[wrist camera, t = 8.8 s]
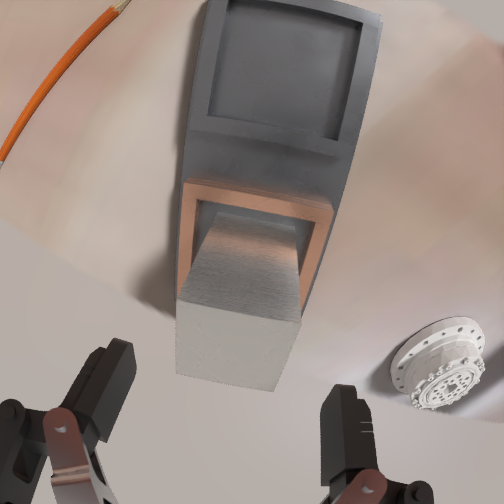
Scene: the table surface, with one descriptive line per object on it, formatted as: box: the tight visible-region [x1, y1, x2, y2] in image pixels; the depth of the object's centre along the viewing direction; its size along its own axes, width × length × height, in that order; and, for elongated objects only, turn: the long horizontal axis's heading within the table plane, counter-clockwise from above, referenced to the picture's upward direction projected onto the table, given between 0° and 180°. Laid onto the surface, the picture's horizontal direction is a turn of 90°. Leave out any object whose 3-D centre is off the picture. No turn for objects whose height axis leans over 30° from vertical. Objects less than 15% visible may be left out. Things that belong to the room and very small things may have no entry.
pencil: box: [0, 0, 131, 168], centre depth 15 cm, size 1×19×1 cm, turn 124°
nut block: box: [176, 212, 301, 392], centre depth 15 cm, size 4×4×8 cm
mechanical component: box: [390, 317, 485, 410], centre depth 22 cm, size 10×4×10 cm
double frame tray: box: [174, 0, 383, 318], centre depth 16 cm, size 9×20×2 cm, turn 170°
